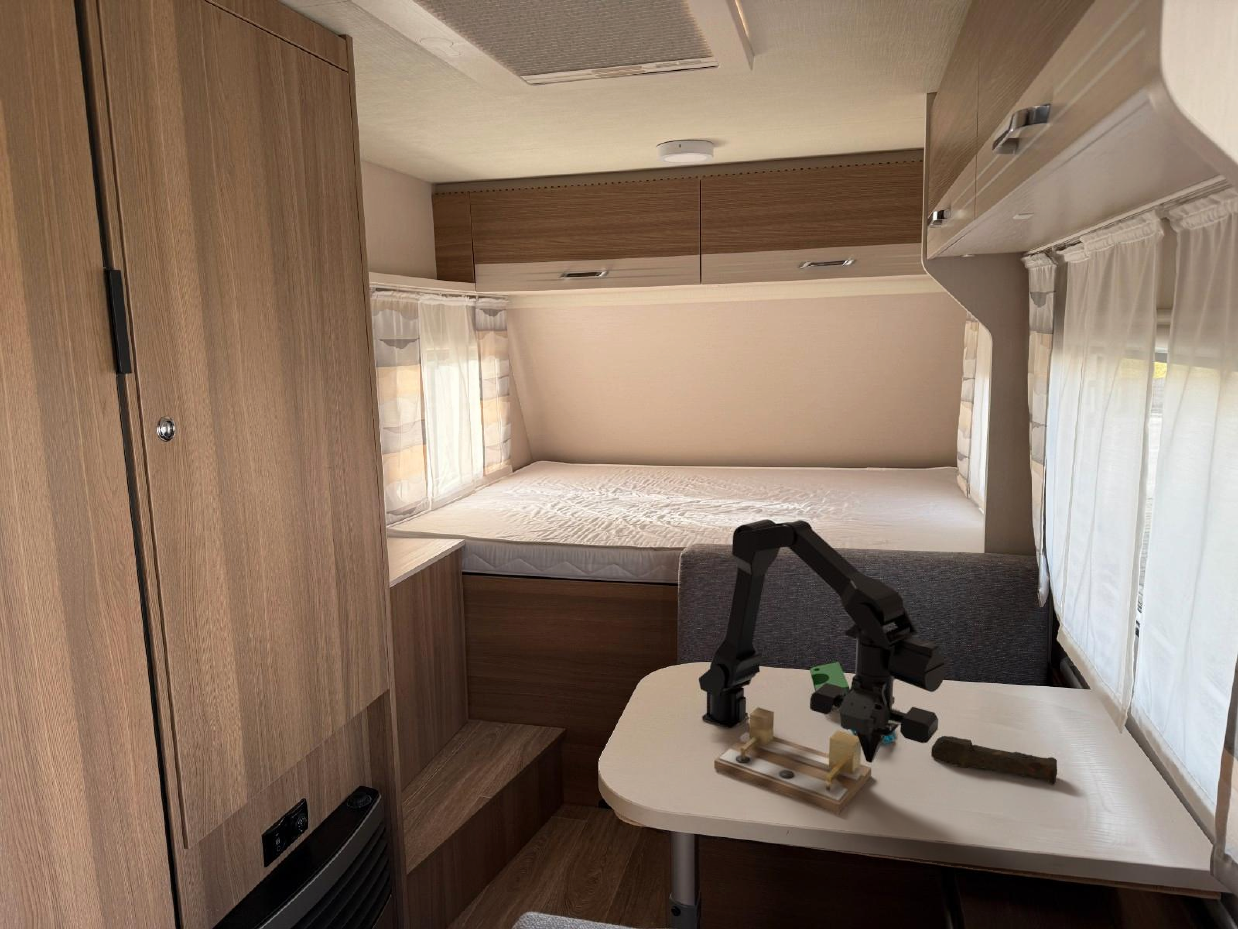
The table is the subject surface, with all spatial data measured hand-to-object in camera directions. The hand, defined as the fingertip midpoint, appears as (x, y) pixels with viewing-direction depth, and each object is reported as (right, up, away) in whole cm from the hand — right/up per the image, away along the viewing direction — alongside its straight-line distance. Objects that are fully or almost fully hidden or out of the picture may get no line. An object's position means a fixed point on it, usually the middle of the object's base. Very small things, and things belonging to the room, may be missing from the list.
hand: (869, 761), depth 135 cm
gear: (+6, -2, +18) cm, 19 cm away
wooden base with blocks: (-11, -4, +6) cm, 13 cm away
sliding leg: (-5, -3, +1) cm, 6 cm away
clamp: (+2, +1, +31) cm, 31 cm away
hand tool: (+22, -4, +6) cm, 23 cm away
